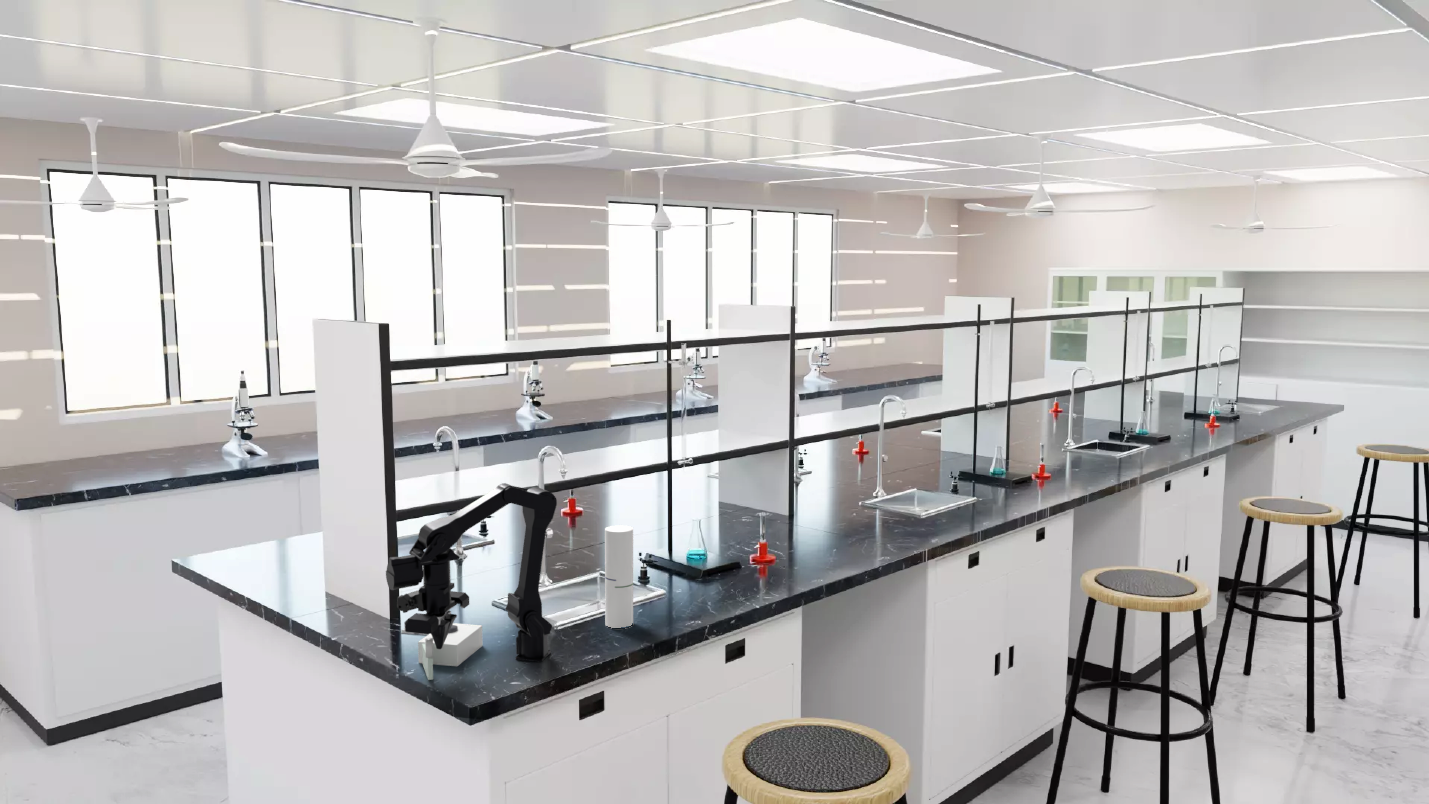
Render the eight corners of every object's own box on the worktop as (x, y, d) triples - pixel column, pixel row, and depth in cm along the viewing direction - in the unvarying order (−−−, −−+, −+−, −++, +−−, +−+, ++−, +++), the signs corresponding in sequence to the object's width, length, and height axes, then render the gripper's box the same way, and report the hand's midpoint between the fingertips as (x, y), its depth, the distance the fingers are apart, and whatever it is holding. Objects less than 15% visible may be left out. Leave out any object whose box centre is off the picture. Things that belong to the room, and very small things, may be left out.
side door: (434, 679, 220) (433, 640, 219) (427, 680, 219) (426, 641, 218) (428, 663, 229) (427, 626, 228) (421, 664, 228) (420, 626, 227)
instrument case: (482, 645, 241) (482, 623, 241) (457, 666, 228) (456, 642, 227) (445, 642, 243) (445, 620, 242) (418, 663, 230) (418, 639, 229)
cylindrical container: (613, 618, 262) (612, 524, 259) (637, 621, 259) (637, 526, 256) (600, 626, 255) (599, 530, 252) (625, 630, 253) (625, 533, 250)
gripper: (424, 564, 230) (427, 629, 233) (380, 592, 212) (383, 662, 215) (469, 568, 228) (471, 634, 230) (428, 596, 210) (431, 667, 212)
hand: (439, 648), depth 222 cm, fingers closed
